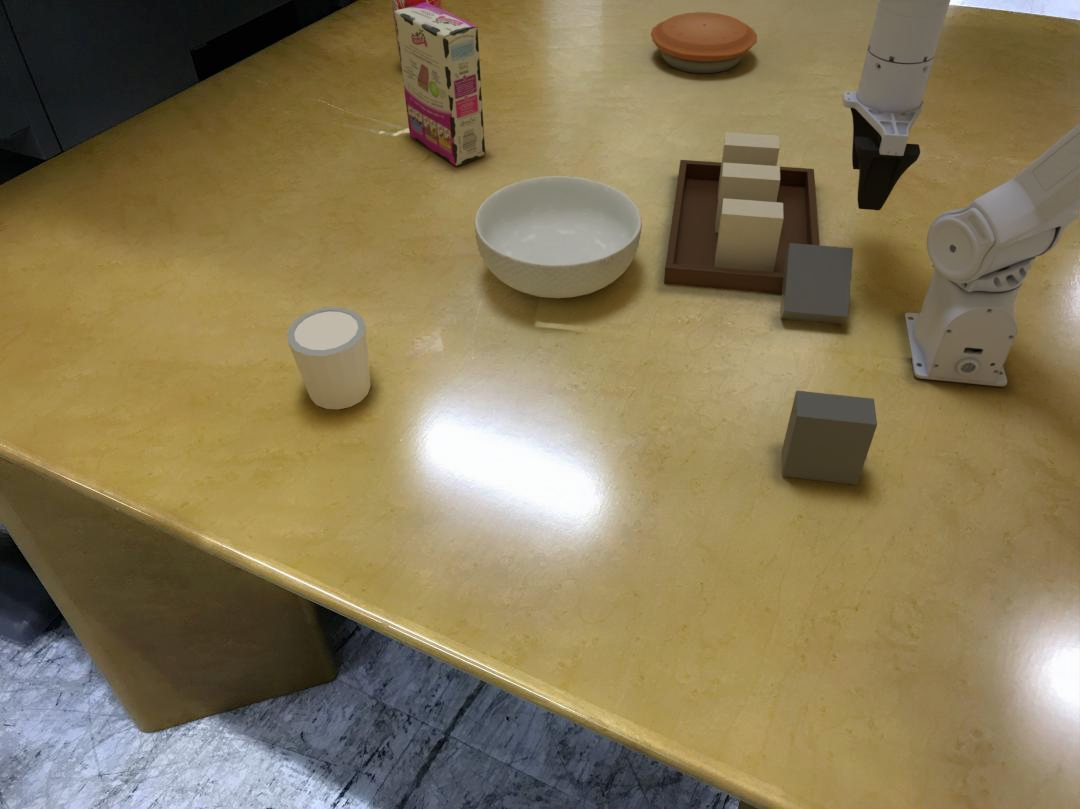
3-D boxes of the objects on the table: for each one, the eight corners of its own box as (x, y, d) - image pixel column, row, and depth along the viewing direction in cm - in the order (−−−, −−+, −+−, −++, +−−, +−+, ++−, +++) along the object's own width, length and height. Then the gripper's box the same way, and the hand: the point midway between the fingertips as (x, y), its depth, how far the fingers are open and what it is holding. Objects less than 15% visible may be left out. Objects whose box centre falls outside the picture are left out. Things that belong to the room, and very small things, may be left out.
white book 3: (772, 276, 93) (783, 218, 88) (714, 271, 94) (722, 213, 89) (772, 260, 95) (783, 202, 91) (715, 255, 96) (723, 198, 91)
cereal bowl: (499, 336, 88) (495, 277, 83) (464, 245, 100) (459, 188, 95) (661, 305, 91) (666, 246, 86) (609, 220, 103) (611, 164, 98)
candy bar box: (488, 155, 115) (479, 25, 103) (456, 168, 112) (444, 36, 101) (439, 125, 121) (426, -1, 110) (408, 136, 119) (391, 9, 108)
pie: (629, 51, 137) (631, 18, 134) (712, 31, 142) (716, -2, 139) (687, 89, 127) (691, 54, 124) (774, 65, 132) (780, 31, 129)
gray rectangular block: (848, 317, 85) (853, 247, 86) (783, 311, 86) (789, 242, 87) (841, 326, 88) (846, 259, 89) (779, 320, 89) (785, 254, 90)
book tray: (817, 301, 91) (822, 280, 89) (663, 287, 93) (665, 267, 92) (809, 188, 107) (814, 168, 105) (678, 178, 109) (680, 159, 108)
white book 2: (769, 237, 99) (780, 180, 94) (714, 232, 99) (722, 176, 95) (769, 222, 101) (780, 166, 96) (715, 218, 102) (723, 162, 97)
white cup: (343, 354, 87) (330, 296, 82) (392, 384, 83) (381, 325, 78) (287, 392, 83) (269, 333, 78) (336, 425, 80) (321, 365, 75)
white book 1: (769, 204, 104) (779, 148, 99) (717, 200, 104) (724, 144, 100) (769, 190, 106) (779, 135, 101) (718, 187, 107) (725, 132, 102)
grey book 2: (857, 485, 73) (877, 424, 68) (782, 476, 74) (796, 416, 69) (854, 458, 75) (874, 398, 70) (781, 450, 76) (796, 390, 71)
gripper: (849, 18, 85) (821, 149, 95) (860, 83, 75) (827, 223, 84) (926, 21, 84) (890, 154, 94) (949, 88, 74) (906, 229, 83)
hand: (866, 187), depth 89 cm, fingers open, 7 cm apart
